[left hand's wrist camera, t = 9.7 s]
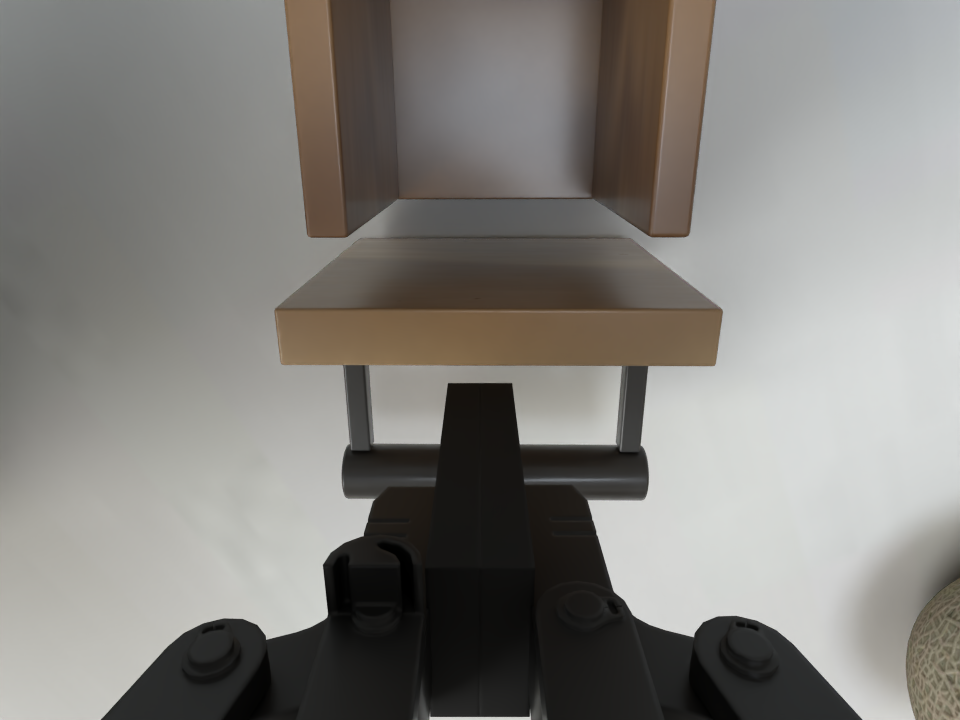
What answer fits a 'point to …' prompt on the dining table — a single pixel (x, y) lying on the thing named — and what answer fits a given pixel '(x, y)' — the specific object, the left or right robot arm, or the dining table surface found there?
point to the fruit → (936, 658)
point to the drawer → (499, 175)
